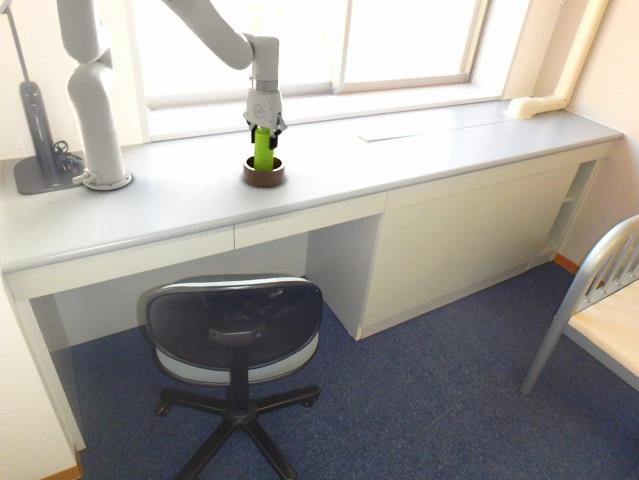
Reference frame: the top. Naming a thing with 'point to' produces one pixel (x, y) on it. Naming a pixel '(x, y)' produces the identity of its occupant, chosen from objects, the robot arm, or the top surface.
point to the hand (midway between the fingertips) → (264, 144)
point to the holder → (263, 173)
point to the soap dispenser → (263, 150)
